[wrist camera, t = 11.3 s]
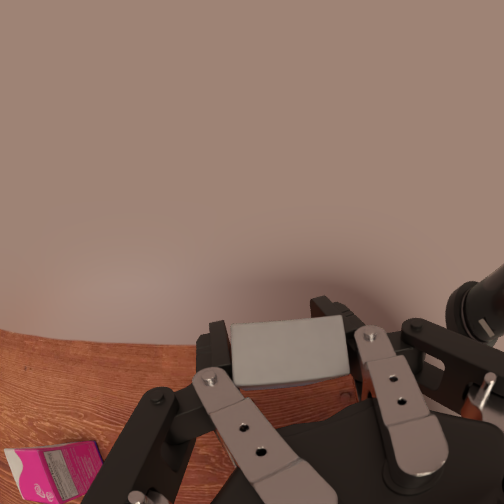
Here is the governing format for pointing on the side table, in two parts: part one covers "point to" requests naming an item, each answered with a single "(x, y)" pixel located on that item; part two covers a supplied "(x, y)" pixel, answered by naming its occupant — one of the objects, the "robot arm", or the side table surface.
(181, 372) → the side table surface
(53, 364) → the side table surface
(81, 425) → the side table surface
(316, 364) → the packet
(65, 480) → the supplement box
